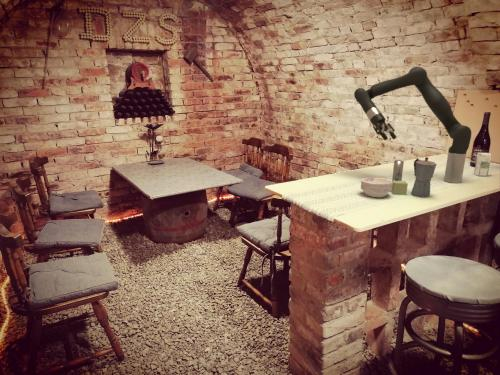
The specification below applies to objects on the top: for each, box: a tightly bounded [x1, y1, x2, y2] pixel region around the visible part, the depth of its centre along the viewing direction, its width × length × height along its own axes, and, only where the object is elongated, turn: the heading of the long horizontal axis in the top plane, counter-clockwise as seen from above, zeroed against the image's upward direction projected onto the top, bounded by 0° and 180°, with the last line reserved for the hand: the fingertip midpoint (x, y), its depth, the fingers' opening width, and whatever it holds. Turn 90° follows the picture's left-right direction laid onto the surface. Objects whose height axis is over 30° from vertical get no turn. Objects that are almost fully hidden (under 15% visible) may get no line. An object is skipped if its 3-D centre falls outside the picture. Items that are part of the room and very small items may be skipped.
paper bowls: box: [360, 177, 393, 198], centre depth 182 cm, size 15×15×8 cm
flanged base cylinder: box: [391, 159, 405, 181], centre depth 200 cm, size 6×6×14 cm
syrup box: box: [473, 152, 492, 177], centre depth 225 cm, size 6×6×14 cm
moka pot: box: [411, 157, 437, 198], centre depth 181 cm, size 10×15×20 cm, turn 16°
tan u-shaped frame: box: [390, 180, 409, 196], centre depth 191 cm, size 16×10×6 cm, turn 171°
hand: (390, 138), depth 199 cm, fingers open, 8 cm apart
